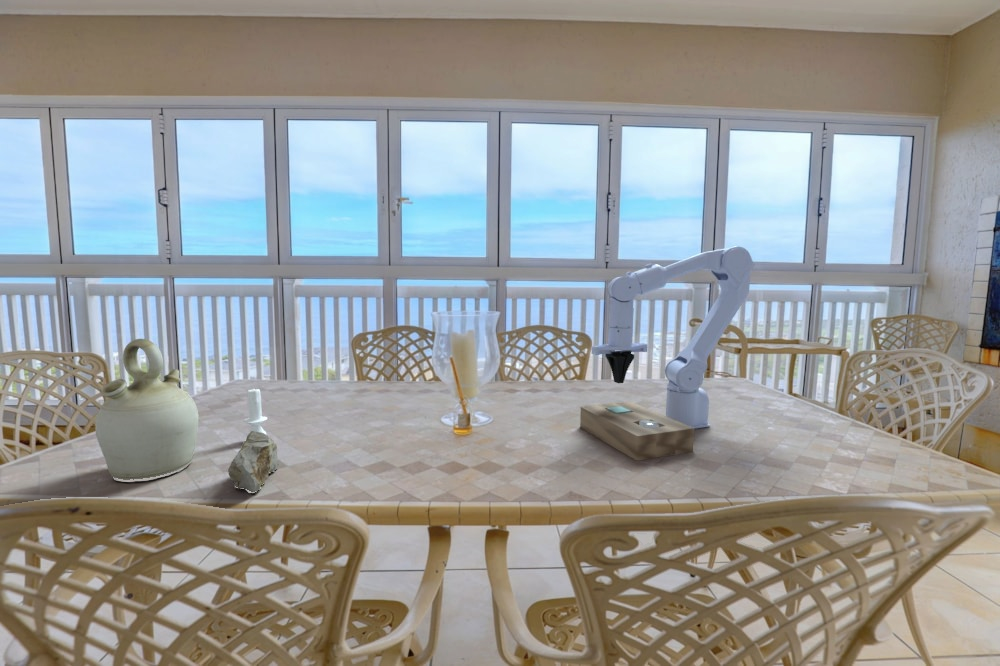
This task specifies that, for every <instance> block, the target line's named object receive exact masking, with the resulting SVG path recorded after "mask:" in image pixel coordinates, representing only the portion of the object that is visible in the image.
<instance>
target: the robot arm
mask: <svg viewBox="0 0 1000 666" xmlns="http://www.w3.org/2000/svg"><path fill="white" fill-rule="evenodd" d="M754 266H755V264H754V261H753V258H752V256H751V254H750V252H749V251H748V249H746V248H744V247H742V246H732V247H727V248H718V249H715V250H711V251H710V250H709V251H705V252H700V253H697V254H694V255H692V256H689V257H687V258H684V259H681V260H679V261H676V262H674V263H671V264H669V265H666V266H662V265H660V264H656V263H655V264H653V263H648V264H645V265H644V267H643V268H641V269H639V270H636V271H633V272H632V271H627V272H626V273H625V275H622V276H618V277H615V278H613V279H612V280H611V281H610V282H609V284H608V287H607V290H606V291H607V294H608V296H609V307H608V330H607V331H608V332H607V335H608V336H607V343H606V344H605V343H603V344H598V345H591V355H593V356H600V355H605V358H606V359H607V361H608V364H609V366H610V369H611V372H612V377H613V382H614V383H617V384H623V383H624V381H625V378H626V375H627V373H628V370H629V368H630V366H631V364H632V363H633V361H634V360H635V354H634V353H639V352H640V353H648V343H642V342H640V343H635V342H634V343H633V341H634V339H633V337H634V335H633V334H634V314H635V313H634V310H635V309H634V299H635V298H636V296H638V297H639V296H642V295H645V294H648V293H651V292H654V291H656V290H660V289H662V288H664V287H665V286H666V284H667V283H668V281H669V280H672V279H675V278H678V277H680V276H684V275H687V274H691V273H694V272H696V271H700V270H701V271H706V272H707V271H709V272H711V274H712V275H713V276H714V277H715V278H716V280H717V281H718V285H719V287H720V289H721V292H720V294H719V295H718V297H717V299H715V300H714V303H713V304H712V306H711V308H710V309H709V310H708V312H707V314H706V315H705V316H704V319H703V320H702V322H701V324H700V325H699V326H698V328H697V329H696V331H695V333H694V334H693V336H692V338H691V339H690V341H689V343H688V344H687V346H686V347H685V348H683V349H682V350H680V351H679V352H678V354H677V355H676V356H675V358H673V359H671V360H669V361H668V363H666V364H665V368H664V374H665V377H666V379H667V380H668V383H667V385H666V399H665V400H666V401H665V402H666V403H665V404H666V405H665V407H666V408H665V416H666V417H669V418H671V419H673V420H676V421H678V422H681V423H683V424H685V425H688V426H690V427H693V428H694V430H696V429H702V428H708V427H711V424H710V423H709V408H710V399H709V395H708V393H707V392H706V391H705V390H704V388H702V387H701V386H702V385H703V381H704V376H705V372H706V370H707V369H708V358H709V356H710V355H711V353H712V351H713V350H714V349H715V347H716V345H717V344H718V342H719V341H720V339H721V337H722V336H723V335H724V333H725V331H726V330H727V328H728V327H729V325H730V324H731V322H732V320H733V319H734V317H735V316H736V314H737V313H738V311H739V309H740V308H741V306H742V305H743V303H744V301H745V299H746V298H747V297H748V295H749V292H750V284H751V275H752V274H751V273H752V270H753V268H754Z"/></svg>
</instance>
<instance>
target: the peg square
mask: <svg viewBox="0 0 1000 666" xmlns="http://www.w3.org/2000/svg"><path fill="white" fill-rule="evenodd" d="M607 410H609V411H611V412H613V413H615V414H620V413H629V412H631V411H630V410H628V409H626V408H624V407H621V406H620V407H612V408H607Z"/></svg>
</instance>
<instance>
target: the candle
mask: <svg viewBox="0 0 1000 666" xmlns="http://www.w3.org/2000/svg"><path fill="white" fill-rule="evenodd" d="M247 408H248V410H247V411H248V418H245V419H244V420H243V423H245V424H247V425H249V426H251V427H250V430H249V432H248V433H247V434H246V438H245V439H247V436H248V435H249V434H250V432H251V431H255V432H261V433H264V434H266V435H267V432H266V430H264V429H263V427H262V424H263V422H266V421H267V420H268V417H267V416H263V412H262V411H263V410H262V409H263V408H262V396H261V390H260V389H259V388H256V389H255V388H252V389H248V390H247ZM267 436H268V435H267Z"/></svg>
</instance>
